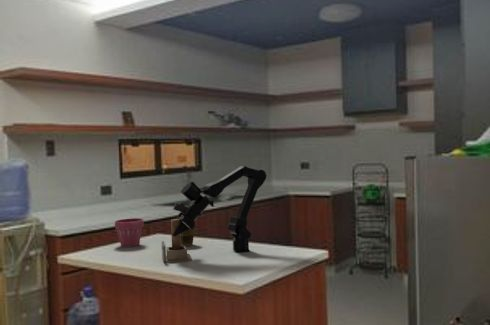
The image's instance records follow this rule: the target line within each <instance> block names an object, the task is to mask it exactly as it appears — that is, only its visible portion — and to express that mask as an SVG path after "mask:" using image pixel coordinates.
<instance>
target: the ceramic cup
mask: <svg viewBox="0 0 490 325" xmlns="http://www.w3.org/2000/svg"><path fill="white" fill-rule="evenodd" d="M189 228H190V227H189ZM195 232H196V226H195V227H194V228H193V229H191V228H190V230H187V231H185V232H183V233H181V246H185V247H190V246H193V243H194V238H195V237H194V236H195Z"/></svg>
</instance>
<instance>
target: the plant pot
mask: <svg viewBox="0 0 490 325" xmlns="http://www.w3.org/2000/svg"><path fill="white" fill-rule="evenodd" d="M144 226H145V225H144V219H143V218H137V217H136V218H133V217H132V218H123V219H118V220H115V221H114V228H115V230H116V231H117V236H118V240H119V242H120V246H121V247H125V248H127V247H128V248H130V247H131V248H132V247H137V246H139V245H140V243H141V237H142V229H143V228H144Z"/></svg>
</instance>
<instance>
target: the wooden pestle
mask: <svg viewBox="0 0 490 325" xmlns="http://www.w3.org/2000/svg"><path fill="white" fill-rule="evenodd" d="M178 225H179V219H178V218H174V219H171V220H170V226H171V227H170V229H171V231H170V232H171V247H172V250H181V234H178V235H176V236H173V233H174V232H175V230H176V229H177V227H178Z"/></svg>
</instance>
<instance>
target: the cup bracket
mask: <svg viewBox="0 0 490 325" xmlns="http://www.w3.org/2000/svg"><path fill="white" fill-rule="evenodd" d="M161 258H162V262H163V264H168V263H181V262H182V263H183V262H189V261H190V262H192V261H193V258H192V256H191V255H190V253H188V248H187V246H181V250H172V246H167V245H166V243H165V241H163V240H161Z"/></svg>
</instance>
